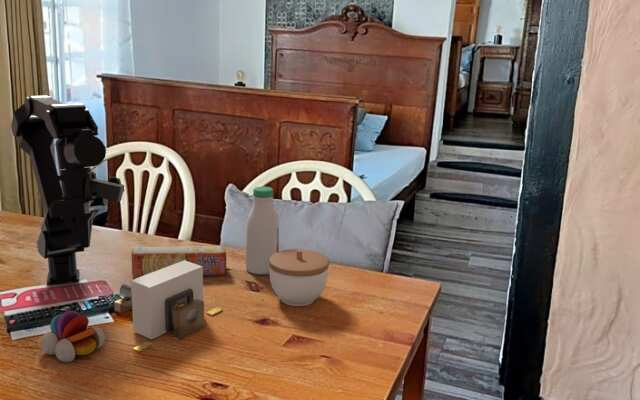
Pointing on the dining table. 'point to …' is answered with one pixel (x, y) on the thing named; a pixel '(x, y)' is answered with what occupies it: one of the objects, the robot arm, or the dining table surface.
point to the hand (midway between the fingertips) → (86, 247)
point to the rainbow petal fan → (71, 337)
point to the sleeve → (164, 296)
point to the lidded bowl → (298, 275)
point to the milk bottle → (261, 232)
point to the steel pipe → (183, 315)
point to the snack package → (178, 258)
